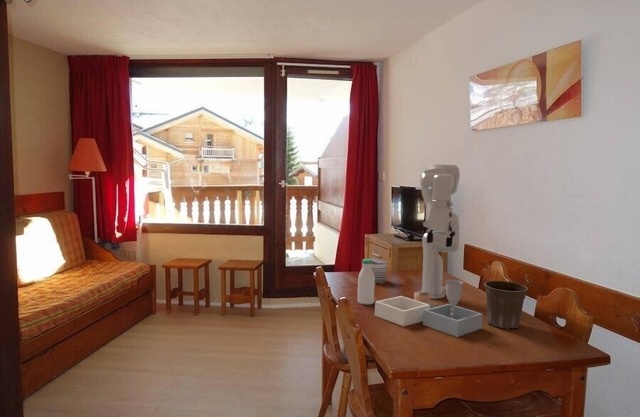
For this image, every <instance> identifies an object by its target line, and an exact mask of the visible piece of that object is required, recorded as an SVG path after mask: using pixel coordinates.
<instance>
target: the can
mask: <svg viewBox="0 0 640 417" xmlns="http://www.w3.org/2000/svg"><path fill="white" fill-rule="evenodd" d="M370 259H371V260H372V270H373V273H374V276H375V284H376V283H380V284H385V283H386V282H387V261H386V260H383V259H377V258H370ZM384 282H385V283H384Z"/></svg>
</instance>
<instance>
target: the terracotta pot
mask: <svg viewBox="0 0 640 417" xmlns="http://www.w3.org/2000/svg"><path fill="white" fill-rule="evenodd" d="M413 300H416V301H419V302H423V303H426V302H430V303H431V298H430V293H427V292H419V291H415V292H413Z"/></svg>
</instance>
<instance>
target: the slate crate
mask: <svg viewBox="0 0 640 417" xmlns="http://www.w3.org/2000/svg"><path fill="white" fill-rule="evenodd" d="M451 308H452V305H450V304H449V303H446V304H443V305H438V307H434V308H430V309H426V310H424V311H423V321H422V326H425V327H427V328H430V329H433V330H436V331H439V332H441V333H445V334H448V335H449V336H453V337H456V338H458V337H459V338H460V337H461V336H465V335H467V333H468V334H470V332H471V333H473V331H474V332H476V330H477V331H479V329H480V330H482V329H483V314H484V313H481V312H477V311H476V310H471V309H468V308H465V307H461V306H459V305H458V306H457V305H455V306H454V310H455V311H454V314H455V315H454V319H452V318H451V315H450V314H451ZM481 328H482V329H481ZM464 334H465V335H464Z"/></svg>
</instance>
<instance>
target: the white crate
mask: <svg viewBox="0 0 640 417" xmlns="http://www.w3.org/2000/svg"><path fill="white" fill-rule="evenodd" d="M374 304H375V305H374V317H378V318H380V319H382V320H385V321H388V322H390V323H393V324H396V325H399V326H401V327H406V326H410V325H414V324H417V323H421V322H423V311H424V310H426V309H430V305H429V304H426V303H423V302H419V301H416V300H414V298H413V299H412V298H410V297H406V296H403V295H399V296H395V297H389V298H384V299H381V300H376V301H375V300H374Z"/></svg>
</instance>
